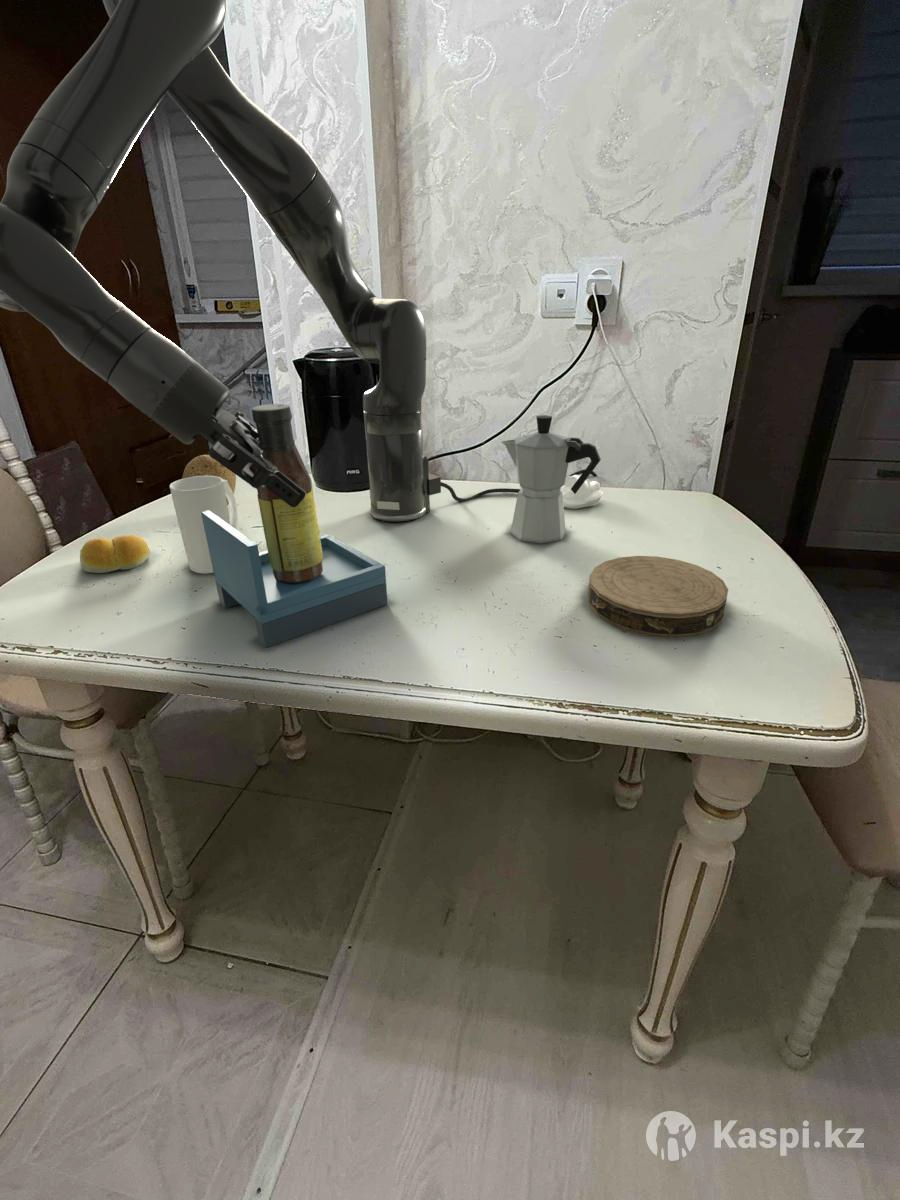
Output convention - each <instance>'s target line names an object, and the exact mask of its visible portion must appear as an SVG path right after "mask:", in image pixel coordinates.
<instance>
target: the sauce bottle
mask: <svg viewBox="0 0 900 1200" xmlns="http://www.w3.org/2000/svg"><path fill="white" fill-rule="evenodd" d="M251 415H252V420H253V421H252V422H253V423H254V424H255V425H256V427H257V432H258V438H259V444H260V445H261V446H262V447H263V448H264V449H265V450H266V457H267V459H268V460H269V461H270V462H271V463H272V464H273V465H275V466H276V467H277V469H278V470H279V471H281V472H282V473H283V474H285V475H286V476H287V477H288V478H290V479H291V480H292V481H293V482H295V483H296V484H297V485H298V486H300V487H301V488H302V489H304V491H305V497H304V499H303V500H302V501H301V502H300V503H299V504H298V505H297V506H296V507H291V506H290V505H289V504H287V503H286V502H285V501H283V500H282V499H281V498H279V497H278V496H277V495H276V494H274V493H273V492H272V491H270V490H269V489H268V488H266V487H267V486H266V487H265V488H262V487H259V489H256V491H257V502H258V506H259V512H260V513H259V514H260V518H261V522H262V528H263V533H264V538H265V545H266V549H267V550H268V555H269V560H270V565H271V567H272V569H273V575H274V577H275V579H277V580H280V581H283V582H286V583H303V582H307V581H310V580H313V579H315V578H316V577H318V576H319V575H320V574H321V573H322V572H323V564H322V559H323V554H322V547H321V540H320V536H321V533H320V527H319V522H318V514H317V508H316V502H315V496H314V488H313V487H314V486H313V482H312V478H311V476H310V474H309V472H308V469H307V468H306V466H305V462H304V461H303V458H302V456H301V455H300V452H299V450H298V448H297V446H296V442H295V439H294V434H293V433H294V432H293V427H292V418H293V414H292V410H291V406H290V405H289V404H285V403H272V404H271V403H268V404H261V405H256V406H253V407H252V408H251ZM258 438H257V439H258ZM258 469H259V468H258V467H255V471H256V472H257V471H258ZM267 550H266V551H267Z"/></svg>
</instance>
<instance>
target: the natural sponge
mask: <svg viewBox="0 0 900 1200" xmlns="http://www.w3.org/2000/svg"><path fill="white" fill-rule="evenodd" d="M195 476H216V477H220V478H222V479H223V480H227V481H228V485H229V487H230V488H231V490H232V492H233V494H234V495H235V491H236V484H237V475H236V474H234V473H233V472H232V471H230V470H229V469H227V468H226V467H225V466H223V465H222V464H220V463H219V462H218V461H216V460H215V459H213V458H211V457H210V455H209V454H201V455H198V456H196V457H194V458H193V459H191V460H190V461H189V462H188V463H187V464H186V465H185V468H184V470H183V473H182V477H181V479H184V478H189V477H195ZM226 501H227V507H229V503H228V500H227V497H226Z"/></svg>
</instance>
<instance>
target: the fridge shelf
mask: <svg viewBox="0 0 900 1200" xmlns="http://www.w3.org/2000/svg"><path fill="white" fill-rule="evenodd" d="M201 515H202V520H203V524H204V529H205V534H206V539H207V544H208V548H209V553H210V558H211V563H212V568H213V573H212V574H213V576H214V581H215V587H216V591H217V596H218V601H219V603H220V605H221V606H222V607H223V608H225V609H228V608H232V607H235V606H238V605H240V606H242V607H243V608H244V609H245V610H246V611H247V612H248V613H249V614H250V615H252V616H253V617H254V623H255V627H256V632H257V638H258V641H259V642H260V643H261V644H262V646H263V647H265V648H269V647H272V646H275V645H277V644H278V645H279V644H281V643H283V642H286V641H289V640H291V639H294V638H298V637H300V636H304V635H306V634H309V633H311V632H314V631H317V630H319V629H322V628H325V627H328V626H331V625H334V624H337V623H339V622H342V621H345V620H347V619H350V618H353V617H356V616H359V615H361V614H364V613H368V612H369V611H374V610H376V609H378V608H381V607H383V606H386V605H388V604H389V603H388V589H387V576H386V566H385V565H384V564H382V563H380V562H378V561H377V560H375V559H374V558H372V557H370V556H368V555H366V554H365V553H363V552H361V551H359V550H357V549H355V548H354V547H352V546H351V545H348V544H347V543H345V542H344V541H342V540H340V539H338V538H337V537H335V536H333V535H332V534H330V533H326V534H323V535H320V540H321V547H322V554H323V559H322V564H323V572H322V573H321V574H320V575H319V576H318V577H316V578H315V579H313V580H310V581H307V582H303V583H286V582H283V581H280V580H277V579H275V577H274V575H273V569H272V567H271V565H270V560H269V555H268V550H263V551H260V552H259V545H258V543H256V542H254V540H252V539H250V537H248V536H246V535H245V534H244V533H242V532H241V531H239V530H238V529H237V528H236V529H235V528H234V527H232V526H231V525H229V524H228V523H227V522H225V521H224V520H222V519H221V518H220V517H218V516H217V515H215V514H214V513H212V512H211V511H210V510H207V511H203V512H201Z"/></svg>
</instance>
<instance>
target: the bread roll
mask: <svg viewBox="0 0 900 1200" xmlns="http://www.w3.org/2000/svg"><path fill="white" fill-rule="evenodd" d="M150 557H151V548H150V546H149V544H148V542H147V541H146V540H145V539H144V538H142V537H140V536H138V535H135V534H129V535H119V536H116V537H114V538H112V539H109V538H104V537H98V538H92V539H88V541H86V542H85V543H84V544H83V546H82V547H81V549H80V551H79V563H80V566H81V570H83V571H85V572H87V573H90V574H91V573H92V574H105V573H111V572H116V571H118V570H123V571H124V570H131V569H135V568H138V567H139V566H141V565H142V564H143V563H145V562H146V561H147V560H148V559H149V558H150Z"/></svg>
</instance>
